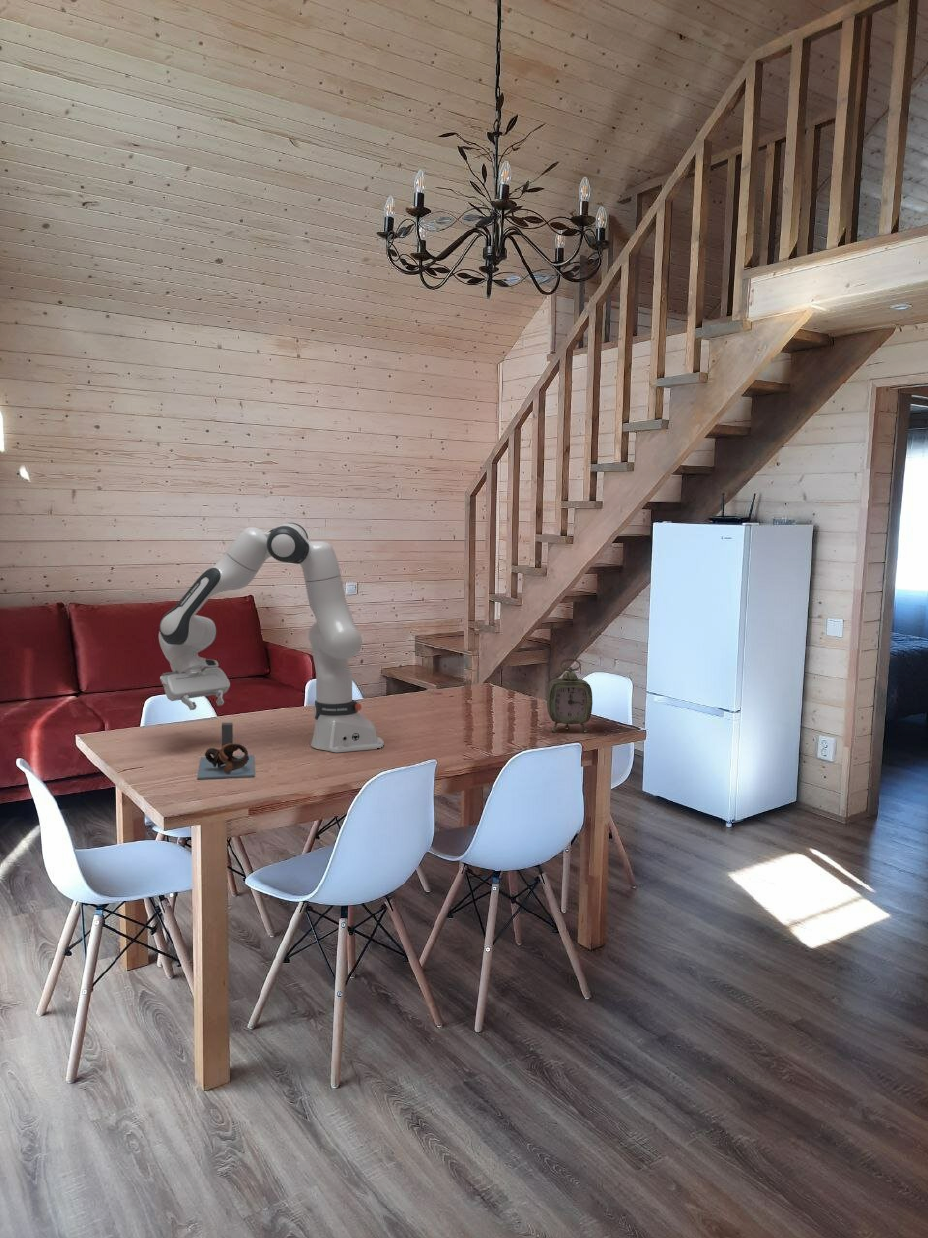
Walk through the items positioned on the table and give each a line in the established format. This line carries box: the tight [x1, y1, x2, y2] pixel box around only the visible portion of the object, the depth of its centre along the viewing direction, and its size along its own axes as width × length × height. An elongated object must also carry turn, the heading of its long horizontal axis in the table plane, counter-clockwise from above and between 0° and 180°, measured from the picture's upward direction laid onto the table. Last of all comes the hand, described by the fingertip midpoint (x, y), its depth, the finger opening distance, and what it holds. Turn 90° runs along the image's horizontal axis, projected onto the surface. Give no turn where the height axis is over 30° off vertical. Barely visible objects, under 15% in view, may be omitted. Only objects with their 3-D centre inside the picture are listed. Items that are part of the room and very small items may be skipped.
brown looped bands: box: [204, 742, 249, 774], centre depth 248 cm, size 12×10×8 cm
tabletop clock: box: [546, 658, 594, 733], centre depth 305 cm, size 14×9×25 cm, turn 92°
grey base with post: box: [197, 721, 256, 780], centre depth 252 cm, size 15×21×10 cm
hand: (207, 706), depth 268 cm, fingers open, 8 cm apart
